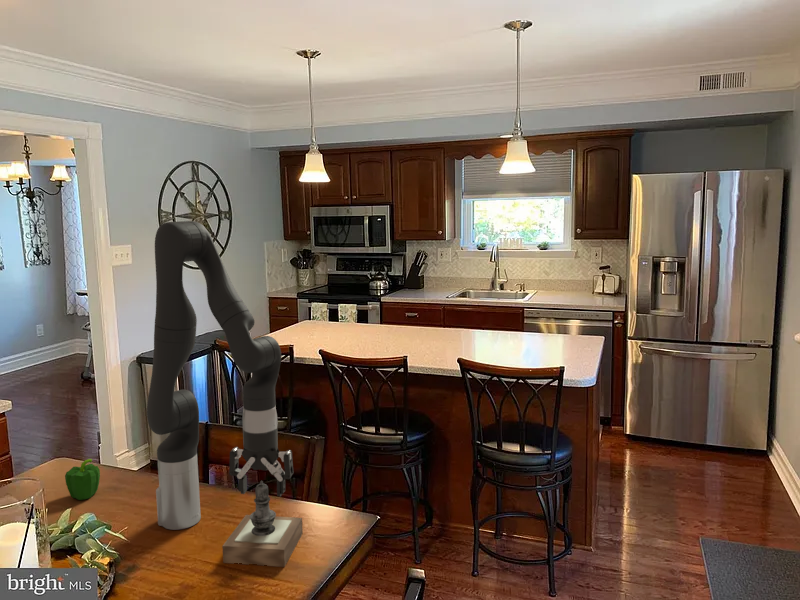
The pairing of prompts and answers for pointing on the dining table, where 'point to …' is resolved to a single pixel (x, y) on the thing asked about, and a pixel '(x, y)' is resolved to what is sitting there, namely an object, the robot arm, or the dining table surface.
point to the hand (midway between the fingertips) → (262, 493)
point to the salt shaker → (262, 512)
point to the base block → (263, 543)
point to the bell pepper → (83, 480)
